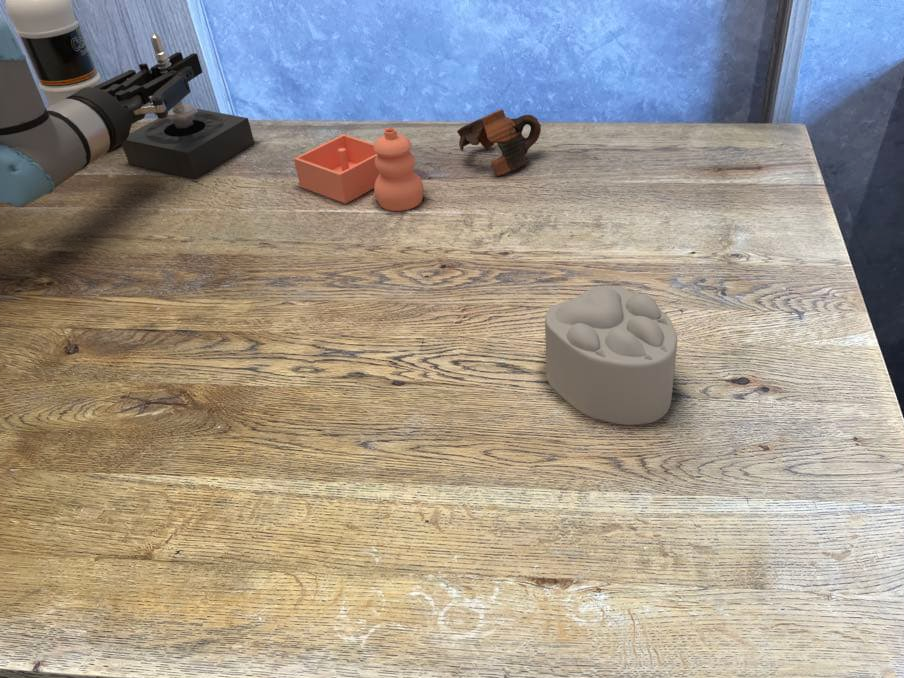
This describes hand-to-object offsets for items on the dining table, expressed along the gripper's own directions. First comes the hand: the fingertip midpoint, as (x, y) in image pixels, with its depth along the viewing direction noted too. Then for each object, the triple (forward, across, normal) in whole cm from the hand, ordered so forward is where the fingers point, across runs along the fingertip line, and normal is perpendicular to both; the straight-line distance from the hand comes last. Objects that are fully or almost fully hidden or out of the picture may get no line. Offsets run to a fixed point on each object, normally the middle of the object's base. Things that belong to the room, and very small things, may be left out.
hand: (189, 62), depth 120 cm
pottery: (-11, +31, -12) cm, 35 cm away
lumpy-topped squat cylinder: (-45, +72, -12) cm, 86 cm away
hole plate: (-6, 0, -12) cm, 13 cm away
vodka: (-6, -17, -12) cm, 22 cm away
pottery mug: (+1, +47, -12) cm, 48 cm away
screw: (-6, 0, -7) cm, 9 cm away
